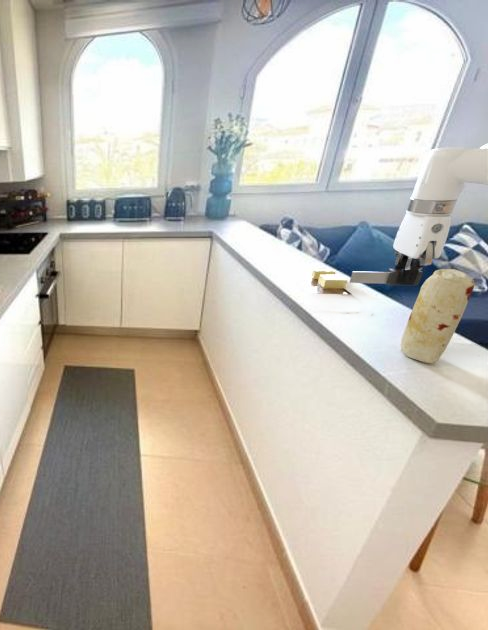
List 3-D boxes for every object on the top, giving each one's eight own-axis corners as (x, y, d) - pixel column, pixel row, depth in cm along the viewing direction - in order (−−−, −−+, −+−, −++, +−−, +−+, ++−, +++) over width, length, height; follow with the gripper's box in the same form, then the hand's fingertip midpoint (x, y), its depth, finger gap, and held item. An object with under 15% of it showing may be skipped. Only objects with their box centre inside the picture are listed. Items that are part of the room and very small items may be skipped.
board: (335, 281, 120) (336, 276, 120) (357, 298, 106) (359, 294, 106) (290, 280, 124) (291, 276, 123) (306, 297, 110) (307, 293, 109)
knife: (351, 284, 88) (355, 270, 87) (347, 281, 90) (351, 268, 89) (417, 285, 85) (423, 272, 83) (412, 282, 87) (417, 269, 85)
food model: (449, 369, 73) (493, 281, 65) (410, 365, 75) (447, 279, 67) (423, 345, 81) (459, 265, 73) (388, 343, 84) (419, 264, 75)
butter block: (338, 283, 115) (340, 274, 113) (345, 288, 110) (347, 280, 109) (317, 282, 116) (319, 274, 115) (323, 288, 112) (326, 279, 110)
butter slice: (331, 277, 119) (333, 269, 118) (333, 279, 118) (335, 271, 116) (311, 277, 121) (313, 269, 120) (313, 279, 119) (315, 271, 118)
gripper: (478, 212, 71) (441, 295, 79) (427, 201, 84) (400, 272, 92) (433, 213, 73) (402, 293, 81) (390, 202, 86) (367, 271, 94)
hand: (401, 281), depth 86 cm, fingers closed on knife, 2 cm apart
